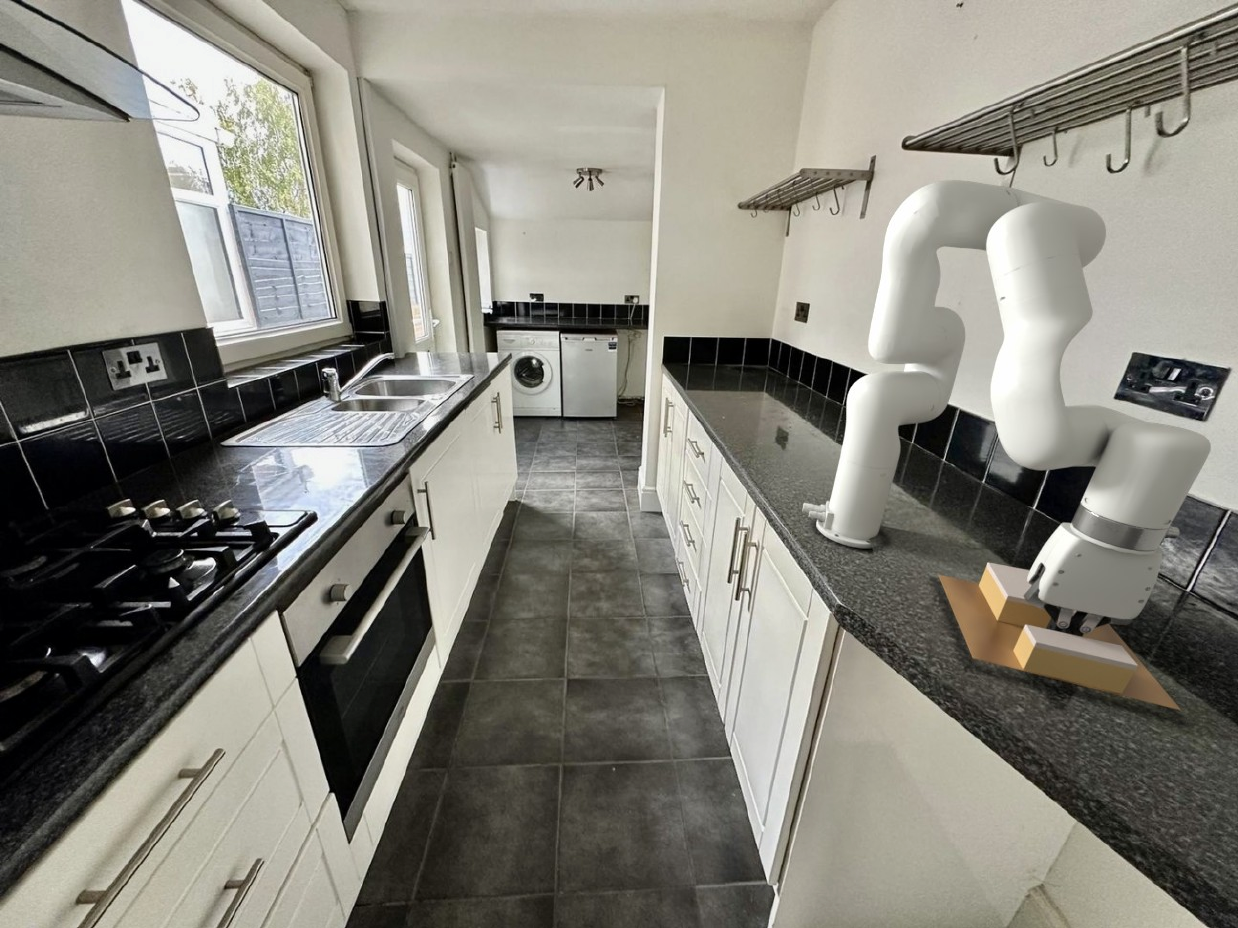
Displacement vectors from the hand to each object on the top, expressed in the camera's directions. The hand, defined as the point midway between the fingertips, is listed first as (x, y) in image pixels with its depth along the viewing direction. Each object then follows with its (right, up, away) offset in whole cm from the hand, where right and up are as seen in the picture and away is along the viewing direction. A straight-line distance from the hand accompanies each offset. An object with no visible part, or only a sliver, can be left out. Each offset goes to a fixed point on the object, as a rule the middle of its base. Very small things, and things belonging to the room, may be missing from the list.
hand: (1055, 647), depth 64 cm
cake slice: (-1, -2, -3) cm, 3 cm away
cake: (+3, +2, +8) cm, 9 cm away
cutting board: (+2, -1, +5) cm, 5 cm away
